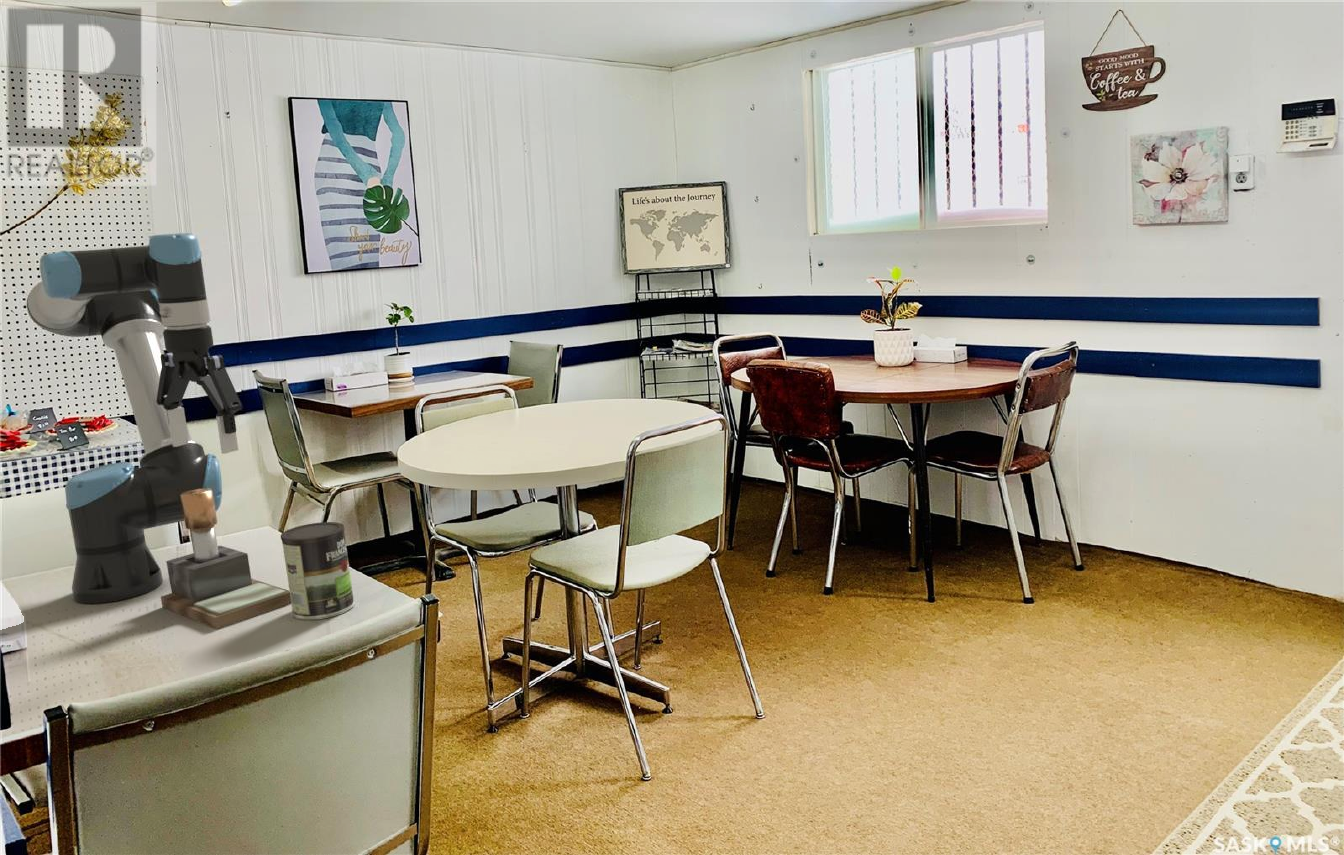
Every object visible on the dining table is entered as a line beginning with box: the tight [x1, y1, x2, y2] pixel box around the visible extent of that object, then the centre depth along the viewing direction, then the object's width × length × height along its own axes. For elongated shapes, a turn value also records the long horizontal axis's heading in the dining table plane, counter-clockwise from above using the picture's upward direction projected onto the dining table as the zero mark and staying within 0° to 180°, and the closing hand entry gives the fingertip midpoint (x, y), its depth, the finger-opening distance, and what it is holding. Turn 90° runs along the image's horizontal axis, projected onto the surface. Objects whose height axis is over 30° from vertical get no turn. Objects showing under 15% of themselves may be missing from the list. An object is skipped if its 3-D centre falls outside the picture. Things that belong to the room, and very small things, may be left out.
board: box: [160, 545, 292, 630], centre depth 189 cm, size 20×14×8 cm
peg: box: [180, 488, 219, 564], centre depth 191 cm, size 5×5×18 cm
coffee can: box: [280, 521, 355, 621], centre depth 183 cm, size 10×10×14 cm
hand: (205, 448), depth 187 cm, fingers open, 13 cm apart
